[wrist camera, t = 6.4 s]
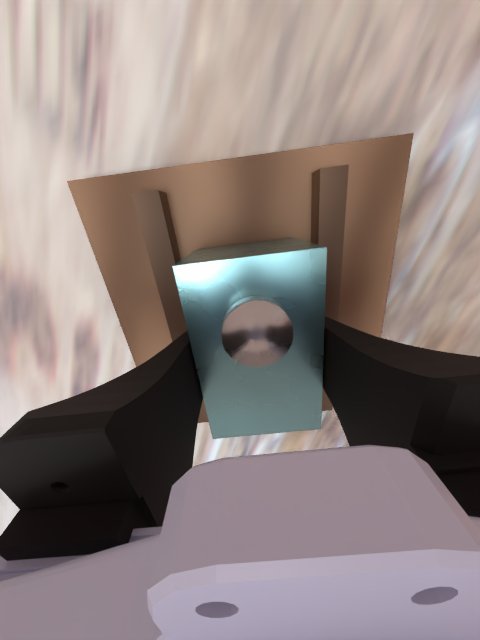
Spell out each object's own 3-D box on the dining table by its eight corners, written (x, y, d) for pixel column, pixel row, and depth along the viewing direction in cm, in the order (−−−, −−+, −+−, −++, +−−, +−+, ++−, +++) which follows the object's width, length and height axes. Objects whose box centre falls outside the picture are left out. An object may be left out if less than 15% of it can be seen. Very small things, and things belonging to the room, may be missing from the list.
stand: (392, 142, 12) (434, 123, 9) (360, 388, 18) (379, 415, 16) (86, 185, 12) (47, 177, 10) (163, 408, 19) (152, 437, 16)
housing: (295, 365, 15) (327, 444, 10) (220, 373, 15) (210, 455, 10) (292, 237, 12) (337, 250, 6) (197, 249, 12) (165, 271, 7)
